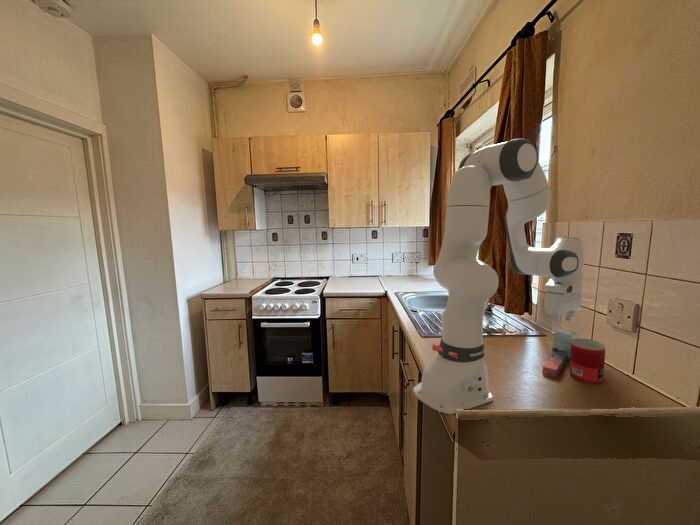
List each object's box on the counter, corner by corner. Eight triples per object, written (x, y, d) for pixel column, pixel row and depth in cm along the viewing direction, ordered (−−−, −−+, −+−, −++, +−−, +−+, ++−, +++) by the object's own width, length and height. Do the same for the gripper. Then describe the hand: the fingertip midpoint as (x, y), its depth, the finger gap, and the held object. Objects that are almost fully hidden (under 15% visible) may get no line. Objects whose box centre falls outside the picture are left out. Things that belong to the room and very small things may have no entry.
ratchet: (562, 380, 85) (563, 363, 85) (535, 372, 91) (536, 356, 90) (578, 356, 100) (578, 341, 99) (554, 350, 105) (554, 336, 104)
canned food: (606, 386, 81) (608, 350, 80) (570, 380, 85) (572, 345, 84) (600, 374, 88) (602, 340, 86) (567, 369, 92) (569, 336, 90)
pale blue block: (569, 354, 96) (572, 336, 95) (552, 348, 101) (555, 330, 99) (575, 350, 99) (578, 332, 98) (559, 344, 103) (561, 327, 102)
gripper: (568, 279, 105) (565, 316, 107) (541, 286, 95) (538, 326, 96) (589, 282, 100) (586, 320, 102) (563, 289, 89) (560, 332, 91)
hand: (562, 323), depth 99 cm, fingers open, 8 cm apart
